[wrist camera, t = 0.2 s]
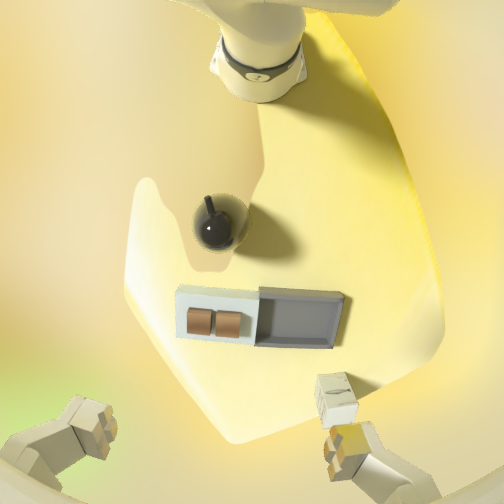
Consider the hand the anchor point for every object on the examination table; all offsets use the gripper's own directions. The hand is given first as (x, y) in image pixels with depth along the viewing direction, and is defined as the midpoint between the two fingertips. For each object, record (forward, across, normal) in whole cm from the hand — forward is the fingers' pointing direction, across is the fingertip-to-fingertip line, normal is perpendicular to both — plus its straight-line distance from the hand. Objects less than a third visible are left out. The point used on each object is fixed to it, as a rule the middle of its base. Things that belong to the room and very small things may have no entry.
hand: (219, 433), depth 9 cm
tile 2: (+43, +1, +18) cm, 47 cm away
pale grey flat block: (+48, +4, +18) cm, 51 cm away
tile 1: (+43, +7, +18) cm, 47 cm away
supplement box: (+48, -24, +37) cm, 65 cm away
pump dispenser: (+48, +4, -1) cm, 48 cm away
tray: (+48, -13, +18) cm, 52 cm away
